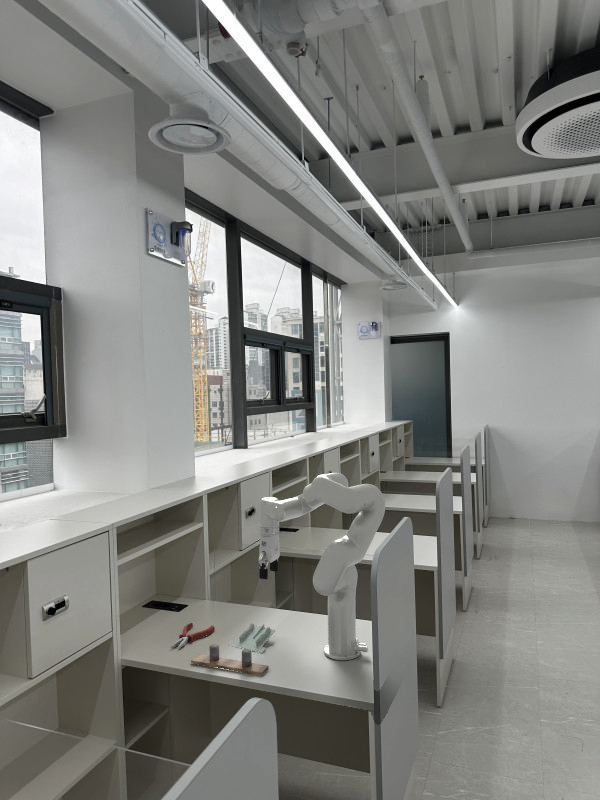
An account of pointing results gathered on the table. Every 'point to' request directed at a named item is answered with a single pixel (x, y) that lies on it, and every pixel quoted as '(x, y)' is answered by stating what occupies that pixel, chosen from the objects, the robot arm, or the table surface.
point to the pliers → (191, 635)
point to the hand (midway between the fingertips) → (268, 574)
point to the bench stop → (231, 662)
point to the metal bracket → (254, 638)
